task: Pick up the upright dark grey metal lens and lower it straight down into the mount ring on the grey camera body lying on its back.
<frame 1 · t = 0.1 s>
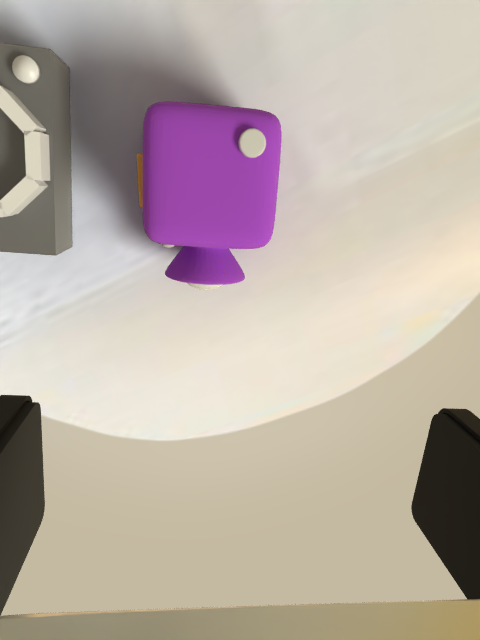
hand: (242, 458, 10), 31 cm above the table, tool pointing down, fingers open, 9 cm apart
toy camera: (207, 199, 39), on the table
camera body: (13, 156, 36), on the table
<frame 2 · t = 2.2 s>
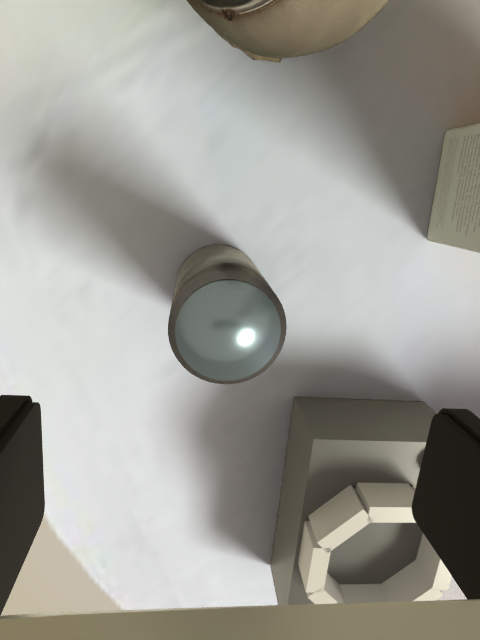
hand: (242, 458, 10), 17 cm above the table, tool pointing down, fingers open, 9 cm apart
lens: (218, 286, 26), on the table
camera body: (343, 487, 31), on the table
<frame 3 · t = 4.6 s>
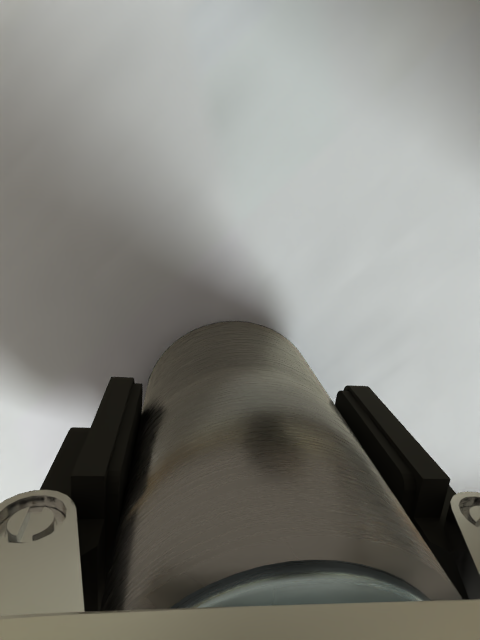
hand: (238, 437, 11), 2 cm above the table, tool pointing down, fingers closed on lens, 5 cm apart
lens: (231, 401, 13), on the table, touching gripper
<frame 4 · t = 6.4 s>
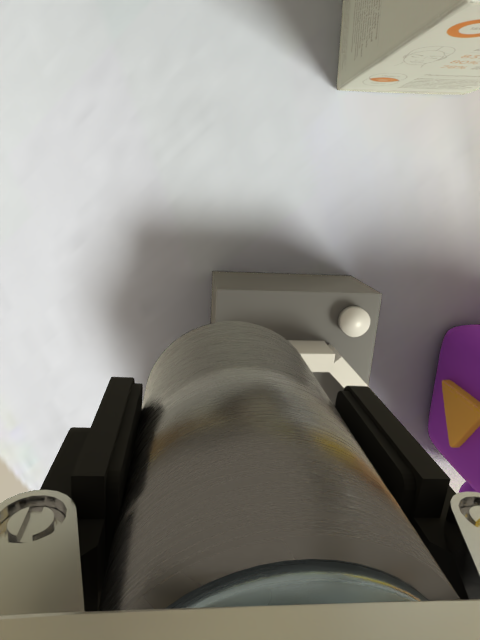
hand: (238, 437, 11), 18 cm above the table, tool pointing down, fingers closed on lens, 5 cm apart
lens: (230, 401, 13), point 16 cm above the table, touching gripper
small box: (405, 33, 25), on the table
camera body: (274, 374, 30), on the table
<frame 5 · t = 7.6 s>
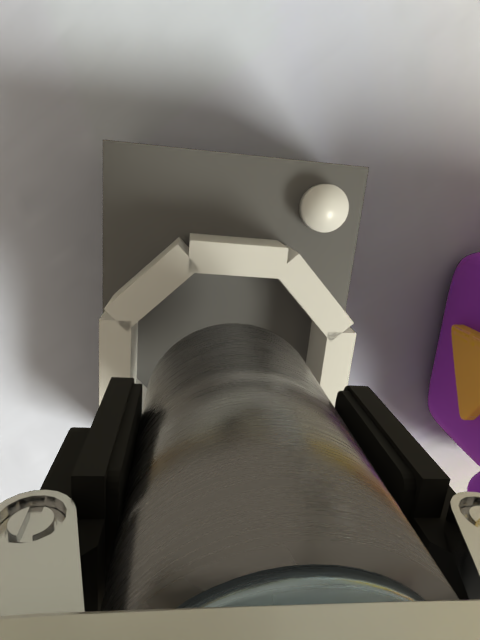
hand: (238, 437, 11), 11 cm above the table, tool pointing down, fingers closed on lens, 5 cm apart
lens: (231, 403, 13), point 9 cm above the table, touching gripper
camera body: (217, 312, 22), on the table
when the fingers open (8 cm above the table, at t = 8.5 s): lens drops 1 cm, resting on camera body.
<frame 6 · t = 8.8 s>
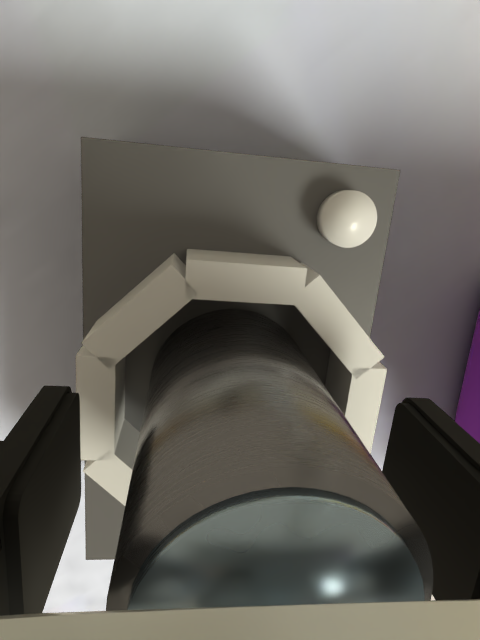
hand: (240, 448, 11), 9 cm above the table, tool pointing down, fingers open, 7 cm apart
lens: (229, 383, 14), point 5 cm above the table, touching camera body
camera body: (218, 334, 19), on the table
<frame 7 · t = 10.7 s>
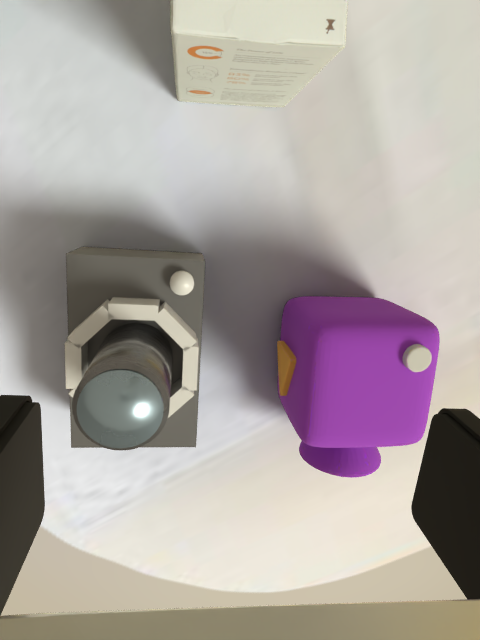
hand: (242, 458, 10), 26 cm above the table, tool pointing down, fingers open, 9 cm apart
toy camera: (328, 363, 39), on the table
lens: (136, 357, 31), point 5 cm above the table, touching camera body
small box: (232, 58, 32), on the table
camera body: (142, 337, 36), on the table
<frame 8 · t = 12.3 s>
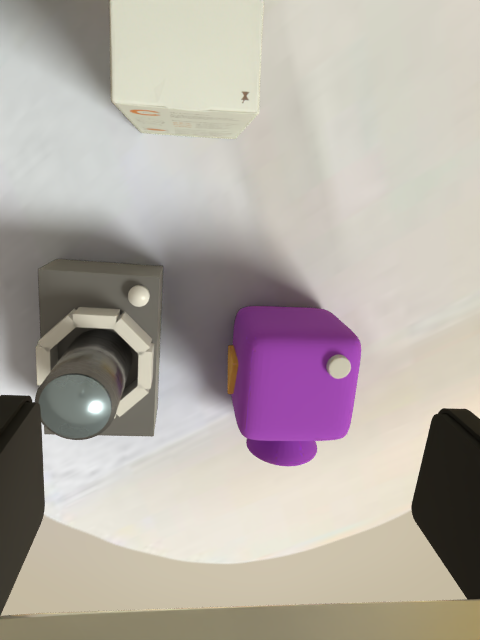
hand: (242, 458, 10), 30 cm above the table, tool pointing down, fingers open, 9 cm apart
toy camera: (278, 364, 43), on the table
lens: (100, 358, 36), point 5 cm above the table, touching camera body
small box: (189, 94, 36), on the table
camera body: (110, 338, 40), on the table
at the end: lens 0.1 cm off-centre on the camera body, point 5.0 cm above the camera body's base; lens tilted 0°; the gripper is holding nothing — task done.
